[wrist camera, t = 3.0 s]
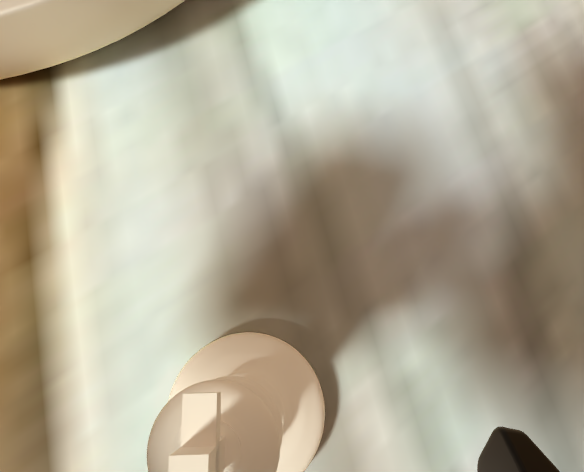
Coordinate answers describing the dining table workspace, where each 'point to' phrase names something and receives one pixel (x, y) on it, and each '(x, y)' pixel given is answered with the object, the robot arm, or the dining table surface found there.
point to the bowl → (67, 29)
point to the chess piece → (240, 410)
